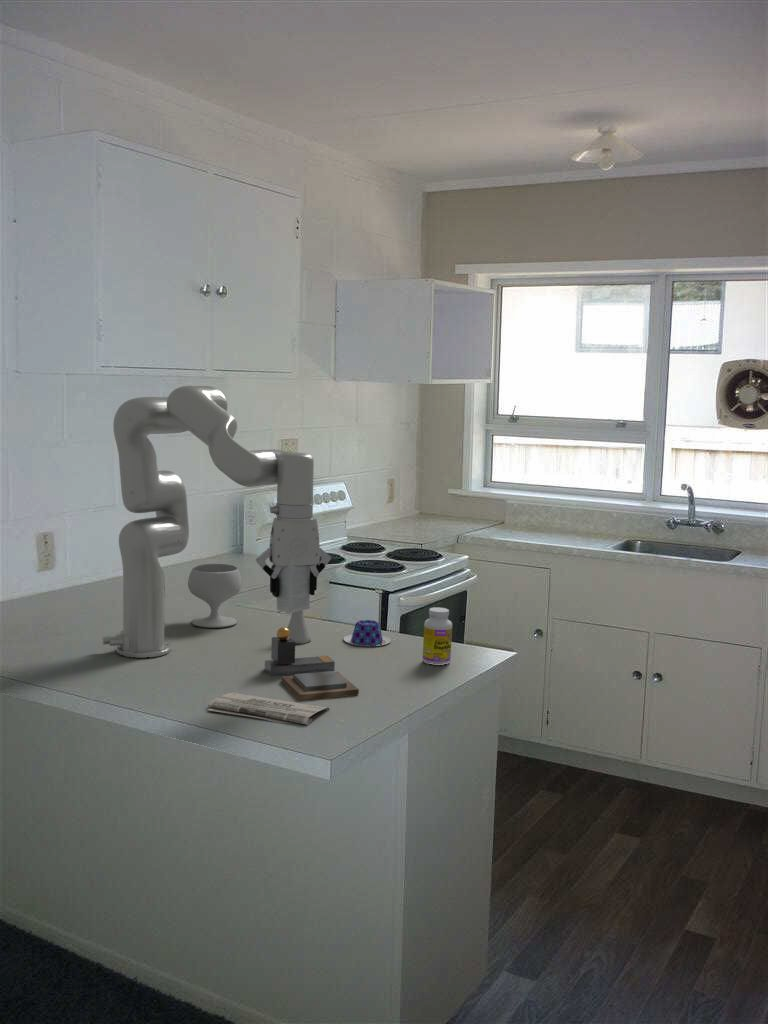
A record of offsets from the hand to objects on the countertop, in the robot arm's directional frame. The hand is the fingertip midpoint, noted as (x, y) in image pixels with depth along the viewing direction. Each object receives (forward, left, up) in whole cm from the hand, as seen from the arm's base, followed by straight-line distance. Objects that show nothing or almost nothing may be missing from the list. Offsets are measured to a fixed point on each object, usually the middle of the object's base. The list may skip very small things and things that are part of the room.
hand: (293, 594), depth 214 cm
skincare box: (0, 0, -4) cm, 4 cm away
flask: (+13, +36, -21) cm, 43 cm away
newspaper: (-9, -13, -21) cm, 27 cm away
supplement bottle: (+39, +9, -21) cm, 45 cm away
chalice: (-3, +58, -21) cm, 61 cm away
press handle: (+2, +12, -18) cm, 21 cm away
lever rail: (+6, +12, -20) cm, 24 cm away
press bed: (+6, -2, -20) cm, 21 cm away
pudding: (+30, +31, -21) cm, 47 cm away
